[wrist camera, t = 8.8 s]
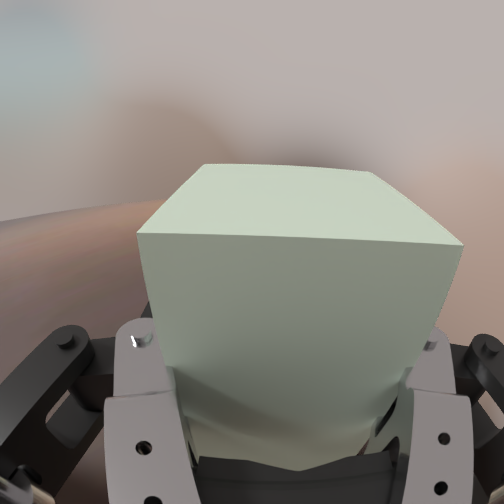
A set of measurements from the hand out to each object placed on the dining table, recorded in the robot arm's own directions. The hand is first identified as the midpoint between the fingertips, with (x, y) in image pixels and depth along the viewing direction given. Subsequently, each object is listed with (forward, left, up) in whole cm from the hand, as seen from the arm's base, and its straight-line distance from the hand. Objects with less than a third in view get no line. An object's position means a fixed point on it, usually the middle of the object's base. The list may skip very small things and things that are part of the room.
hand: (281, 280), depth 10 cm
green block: (0, -3, -6) cm, 7 cm away
